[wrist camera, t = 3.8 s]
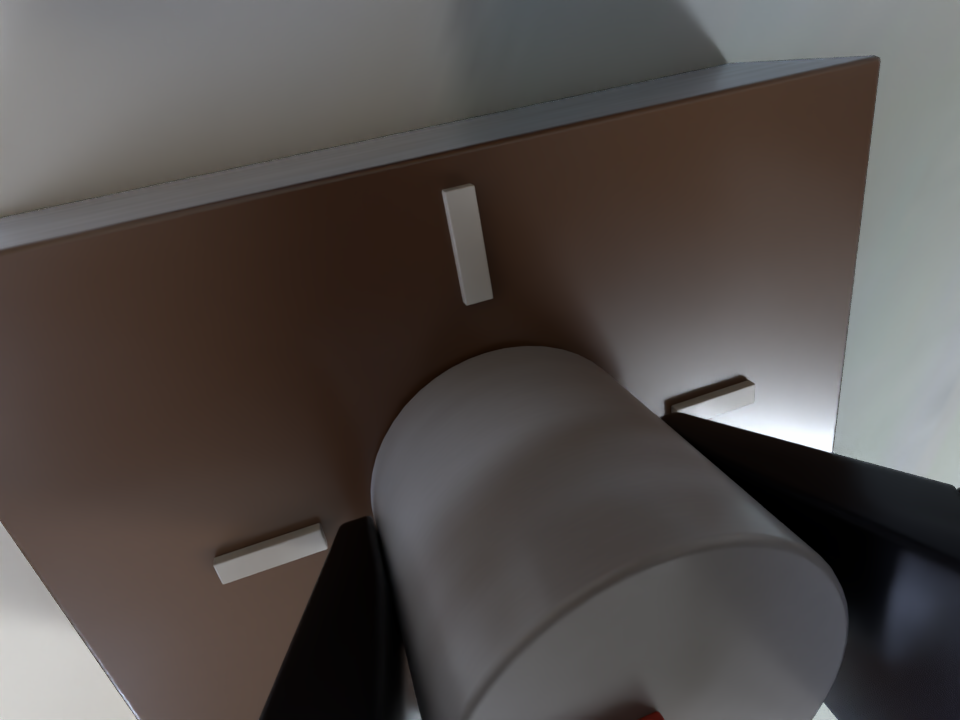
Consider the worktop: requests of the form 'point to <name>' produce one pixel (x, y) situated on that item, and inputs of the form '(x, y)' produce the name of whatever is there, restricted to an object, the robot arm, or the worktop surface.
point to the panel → (397, 335)
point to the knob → (589, 559)
